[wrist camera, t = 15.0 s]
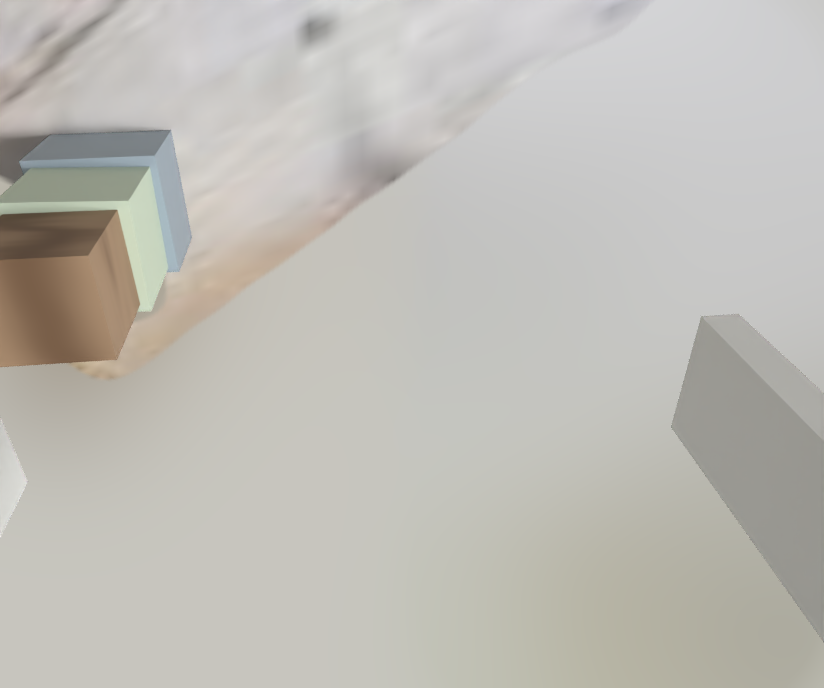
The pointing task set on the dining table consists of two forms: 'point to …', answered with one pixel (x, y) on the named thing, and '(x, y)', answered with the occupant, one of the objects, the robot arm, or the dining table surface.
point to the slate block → (127, 152)
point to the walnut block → (64, 287)
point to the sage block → (102, 192)
